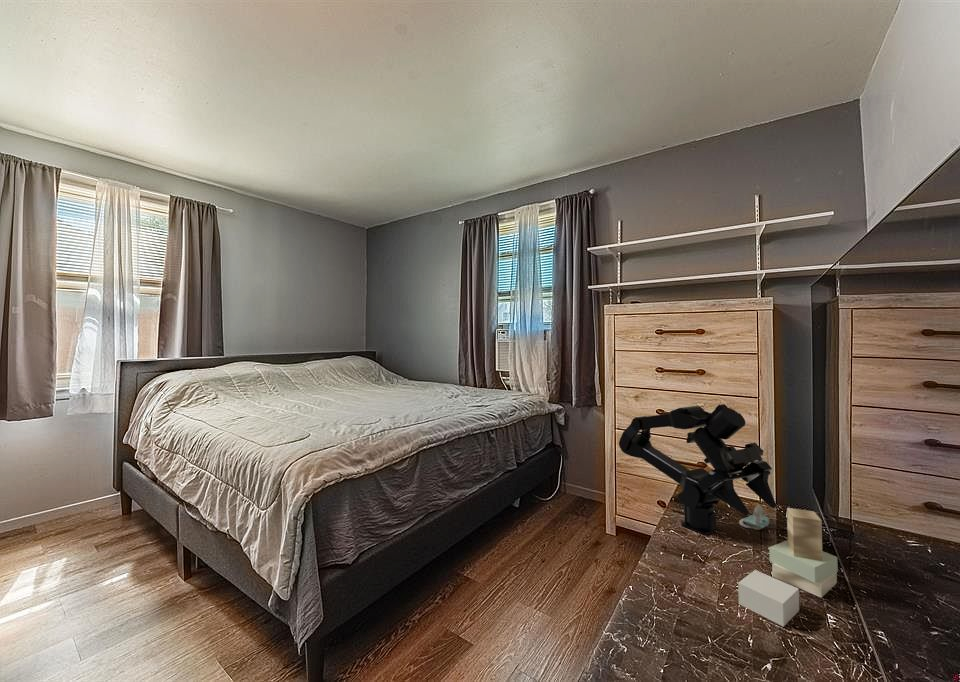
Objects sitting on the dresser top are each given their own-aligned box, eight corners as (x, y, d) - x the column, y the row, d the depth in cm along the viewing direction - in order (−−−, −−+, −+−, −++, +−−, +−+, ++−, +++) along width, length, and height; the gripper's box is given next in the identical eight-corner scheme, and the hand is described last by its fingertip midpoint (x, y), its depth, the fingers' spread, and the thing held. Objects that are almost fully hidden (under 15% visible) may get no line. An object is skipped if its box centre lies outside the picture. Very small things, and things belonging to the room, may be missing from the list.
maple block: (793, 555, 78) (792, 516, 78) (787, 545, 82) (787, 507, 82) (822, 561, 76) (821, 520, 76) (815, 550, 80) (814, 511, 80)
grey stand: (738, 603, 72) (738, 582, 72) (755, 590, 76) (755, 569, 76) (783, 626, 66) (782, 603, 66) (799, 610, 70) (798, 588, 70)
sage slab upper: (769, 561, 81) (769, 547, 81) (792, 552, 84) (791, 538, 84) (814, 583, 74) (814, 567, 74) (837, 571, 77) (837, 557, 77)
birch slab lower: (772, 578, 80) (772, 563, 80) (789, 565, 84) (788, 552, 84) (821, 599, 73) (821, 584, 73) (836, 585, 77) (836, 570, 77)
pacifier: (734, 526, 102) (761, 535, 97) (733, 503, 102) (759, 510, 97) (746, 518, 106) (772, 526, 101) (744, 495, 106) (770, 502, 101)
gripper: (708, 436, 88) (759, 503, 78) (762, 427, 94) (816, 488, 84) (680, 460, 95) (723, 524, 85) (732, 451, 102) (778, 509, 92)
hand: (761, 511), depth 86 cm, fingers open, 9 cm apart
